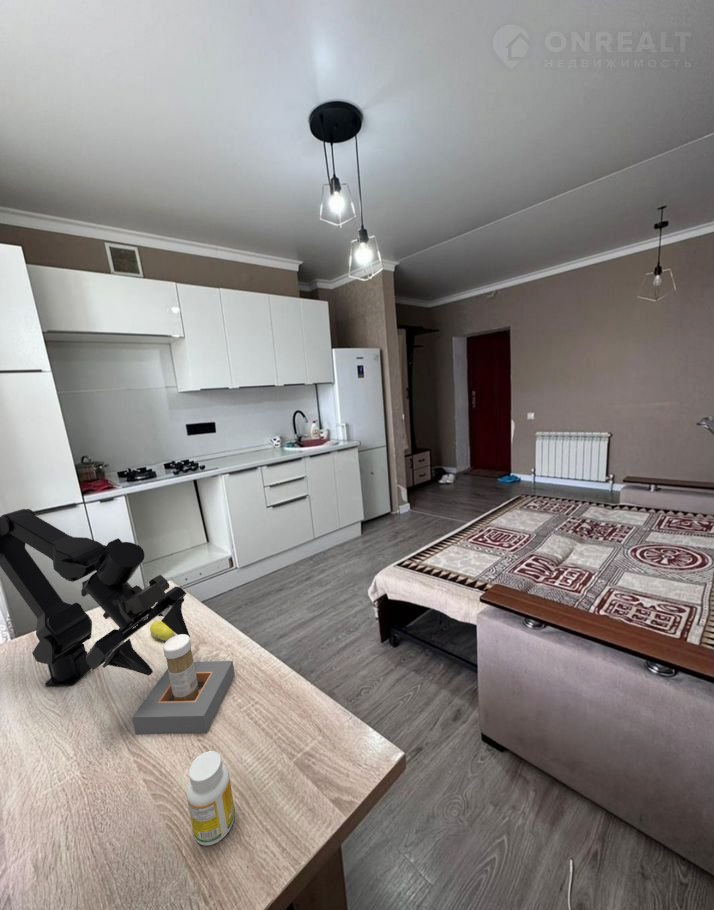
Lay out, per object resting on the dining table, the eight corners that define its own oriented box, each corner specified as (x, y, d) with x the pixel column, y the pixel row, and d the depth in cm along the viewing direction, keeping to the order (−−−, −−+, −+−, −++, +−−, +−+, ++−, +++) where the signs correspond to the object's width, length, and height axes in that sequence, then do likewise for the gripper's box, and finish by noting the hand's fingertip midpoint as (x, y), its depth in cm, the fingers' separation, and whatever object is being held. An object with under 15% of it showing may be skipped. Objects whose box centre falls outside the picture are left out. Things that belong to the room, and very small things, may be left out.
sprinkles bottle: (188, 691, 74) (177, 631, 71) (205, 696, 72) (195, 635, 70) (169, 709, 70) (157, 646, 67) (187, 716, 68) (175, 652, 66)
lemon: (162, 647, 88) (159, 632, 87) (147, 635, 93) (144, 621, 92) (179, 637, 91) (177, 623, 90) (164, 626, 96) (161, 613, 95)
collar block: (135, 734, 65) (131, 717, 65) (174, 677, 78) (172, 662, 77) (206, 733, 64) (203, 715, 64) (234, 675, 77) (232, 660, 77)
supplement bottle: (206, 857, 47) (194, 796, 45) (186, 827, 50) (175, 769, 49) (243, 819, 51) (233, 761, 49) (223, 793, 54) (213, 738, 53)
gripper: (84, 600, 60) (148, 671, 59) (172, 549, 77) (223, 603, 76) (60, 636, 64) (120, 703, 63) (149, 580, 81) (198, 632, 80)
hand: (171, 655), depth 70 cm, fingers open, 9 cm apart
